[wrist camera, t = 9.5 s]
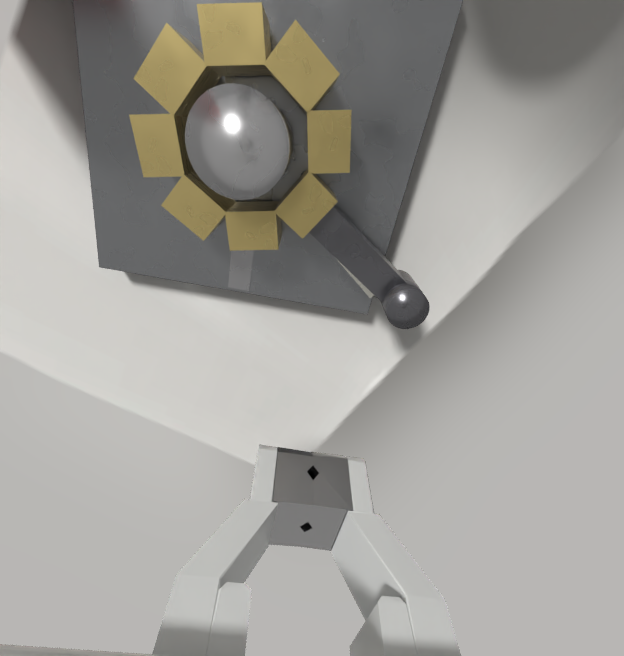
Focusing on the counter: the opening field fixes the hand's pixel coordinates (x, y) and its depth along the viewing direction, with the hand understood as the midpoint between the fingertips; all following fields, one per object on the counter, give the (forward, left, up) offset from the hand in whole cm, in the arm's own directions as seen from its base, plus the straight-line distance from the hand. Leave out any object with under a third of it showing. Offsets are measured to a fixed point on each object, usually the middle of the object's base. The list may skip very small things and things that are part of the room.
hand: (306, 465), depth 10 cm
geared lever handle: (-5, -1, -15) cm, 15 cm away
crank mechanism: (-7, -4, -17) cm, 19 cm away
